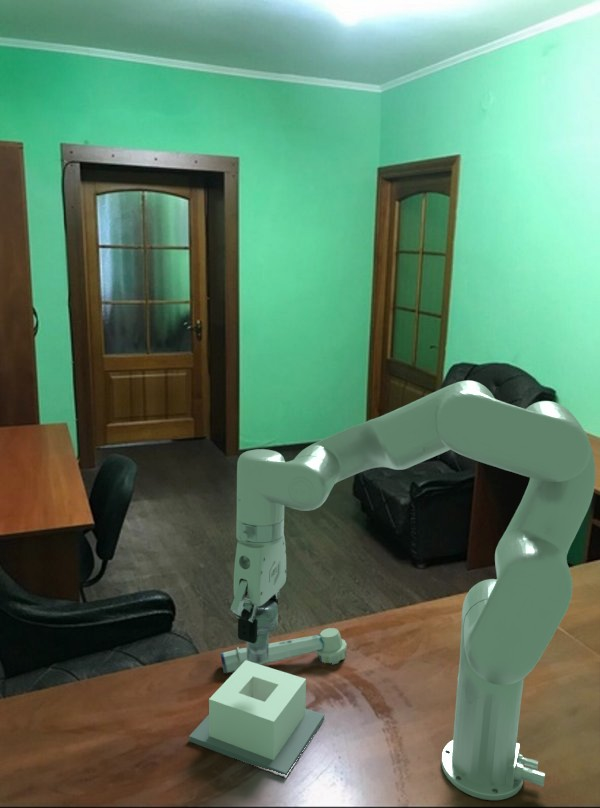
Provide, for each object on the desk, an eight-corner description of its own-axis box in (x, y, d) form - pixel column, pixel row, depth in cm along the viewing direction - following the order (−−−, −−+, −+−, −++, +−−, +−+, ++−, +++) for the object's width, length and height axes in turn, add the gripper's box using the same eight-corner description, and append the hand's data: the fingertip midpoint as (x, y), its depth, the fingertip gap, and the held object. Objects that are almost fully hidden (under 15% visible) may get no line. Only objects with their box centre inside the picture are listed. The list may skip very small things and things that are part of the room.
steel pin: (283, 651, 111) (284, 603, 109) (265, 672, 105) (266, 621, 103) (250, 641, 113) (251, 593, 111) (230, 661, 108) (231, 611, 106)
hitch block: (324, 719, 115) (325, 679, 113) (286, 778, 102) (286, 733, 100) (235, 689, 122) (235, 651, 121) (189, 741, 109) (188, 698, 107)
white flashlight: (219, 646, 130) (340, 617, 134) (224, 675, 131) (343, 646, 136) (222, 661, 125) (347, 631, 129) (227, 692, 126) (350, 661, 131)
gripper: (254, 553, 95) (252, 664, 99) (304, 514, 110) (301, 611, 114) (210, 543, 98) (209, 650, 102) (265, 505, 113) (263, 600, 117)
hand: (258, 628), depth 108 cm, fingers closed on steel pin, 6 cm apart
